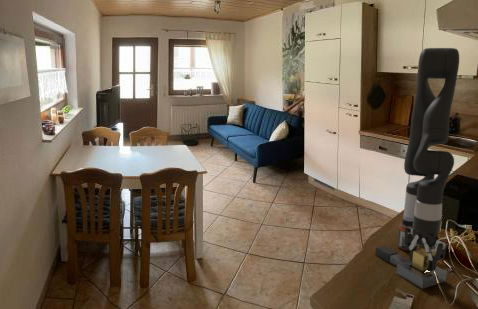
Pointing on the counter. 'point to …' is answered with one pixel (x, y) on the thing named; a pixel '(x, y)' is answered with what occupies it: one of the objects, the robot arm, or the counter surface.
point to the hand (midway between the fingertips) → (421, 265)
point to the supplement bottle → (401, 236)
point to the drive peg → (420, 260)
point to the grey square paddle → (410, 268)
